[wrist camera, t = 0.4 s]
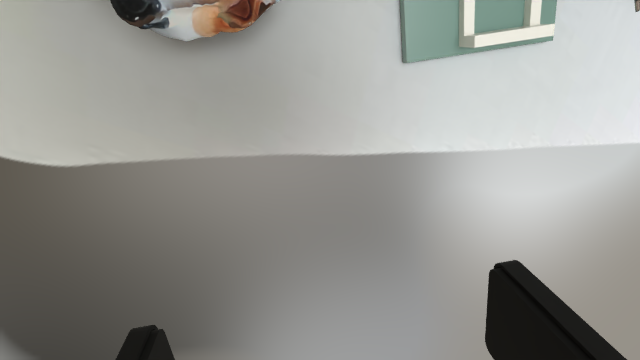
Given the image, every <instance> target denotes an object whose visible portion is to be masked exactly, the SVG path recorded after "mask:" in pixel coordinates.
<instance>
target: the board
mask: <svg viewBox="0 0 640 360" xmlns="http://www.w3.org/2000/svg"><path fill="white" fill-rule="evenodd" d="M556 4H557V0H400V14H401V34H402V55H403V62H404V63H410V62H417V61H423V60H430V59H436V58H443V57H449V56H455V55H462V54H468V53H475V52H481V51H488V50H494V49H501V48H507V47H513V46H520V45H526V44H533V43H539V42H546V41H552V40H553V36H554V27H555V14H556Z"/></svg>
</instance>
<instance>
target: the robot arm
mask: <svg viewBox="0 0 640 360" xmlns="http://www.w3.org/2000/svg"><path fill="white" fill-rule="evenodd" d="M485 342H486V346H487V349H488V351H489V353H490V354H491V356H492V357H493V359H494V360H627V359H626V358H624V357H623V356H622V355H621V354H620V353H619V352H618V351H617V350H616V349H615V348H613V347H612V346H611V345H610V344H609V343H608V342H607V341H606V340H605V339H604V338H603V337H601V336H600V335H599V334H598V333H597V332H596V331H595V330H594V329H593V328H592V327H590V326H589V325H588V324H587V323H586V322H585V321H584V320H583V319H582V318H581V317H579V316H578V315H577V314H576V313H575V312H574V311H573V310H572V309H571V308H570V307H568V306H567V305H566V304H565V303H564V302H563V301H562V300H561V299H560V298H559V297H558V296H556V295H555V294H554V293H553V292H552V291H551V290H550V289H549V288H548V287H546V286H545V285H544V284H543V283H542V282H541V281H540V280H539V279H538V278H537V277H536V276H535V275H533V274H532V273H531V272H530V271H529V270H528V269H527V268H526V267H525V266H524V265H522V264H521V263H520V262H519V261H517V260H513V261H508V262H503V263H497V264H495V266H494V269H492V270H490V272H489V284H488V300H487V317H486V333H485ZM116 360H175V359H174V357H173V354H172V351H171V348H170V345H169V343H168V340H167V337H166V335H165V332H164V331H163V329H159V330H158V328H157V327H156V326H155V325H150V326H144V327H138V328H133V329H132V330H130V332H129V334H128V336H127V338H126V340H125V342H124V344H123V346H122V348H121V350H120V352H119V354H118V356H117V358H116Z"/></svg>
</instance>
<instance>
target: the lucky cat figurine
mask: <svg viewBox="0 0 640 360" xmlns="http://www.w3.org/2000/svg"><path fill="white" fill-rule="evenodd" d="M110 1H111V4H112V6H113V8H114V9H115V11H116V13H117V15H118V16H119V17H120V18H122V19H123V20H124V21H126V22H127V23H129V24H130V25H133V26H137V27H139V28H140V29H151V30H153V31H155V32H157V33H158V34H161V35H162V36H165V37H168V38H176V39H180V40H183V41H191V40H194V39H196V38H201V37H212V36H214V35H216V34H218V33H219V32H238V31H241V30H243V29H245V28H247V27H249V26H251V25H252V23H253V22H255V21H256V20H257V19H258V18H259V17H260V16H261V15H262V14H263V13H264V12H265V11H267V10H268V9H269V8H270V7H271V6H272V5H273V4H275V3H277V2H279V1H281V0H110Z"/></svg>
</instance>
